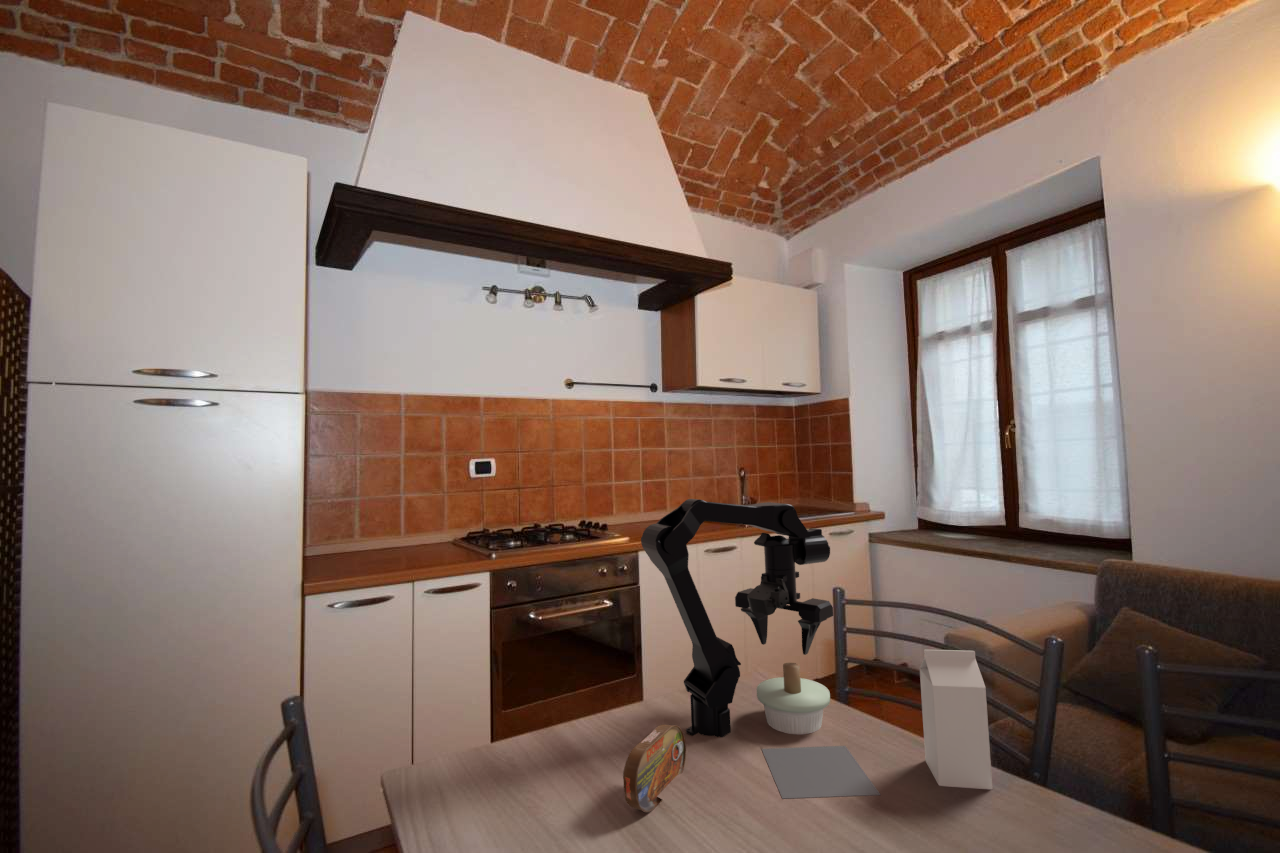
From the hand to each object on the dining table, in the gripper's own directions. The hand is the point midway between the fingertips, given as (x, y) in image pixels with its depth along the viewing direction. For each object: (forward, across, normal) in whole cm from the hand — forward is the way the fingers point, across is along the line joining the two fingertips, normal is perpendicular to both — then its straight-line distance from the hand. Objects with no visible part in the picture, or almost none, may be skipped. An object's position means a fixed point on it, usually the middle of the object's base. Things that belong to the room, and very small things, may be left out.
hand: (784, 649), depth 111 cm
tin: (+12, 0, -36) cm, 38 cm away
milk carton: (+12, +31, -3) cm, 33 cm away
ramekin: (+12, +4, -4) cm, 14 cm away
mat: (+12, +15, -16) cm, 25 cm away
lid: (+7, +4, -4) cm, 9 cm away
